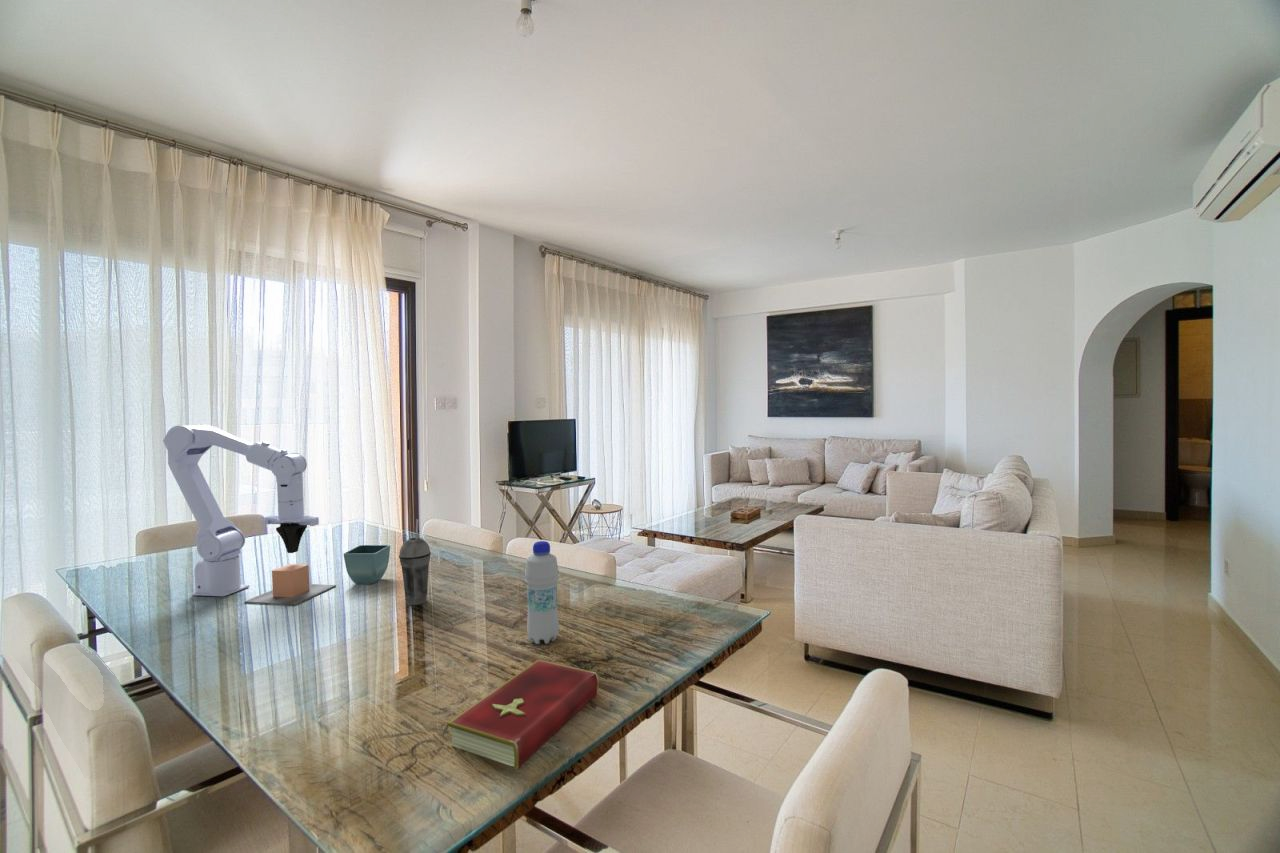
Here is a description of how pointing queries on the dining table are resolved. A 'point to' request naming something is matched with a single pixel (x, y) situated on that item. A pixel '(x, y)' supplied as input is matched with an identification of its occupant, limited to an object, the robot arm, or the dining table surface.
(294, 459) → the robot arm
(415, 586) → the beverage cup
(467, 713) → the hardcover book
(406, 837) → the dining table surface
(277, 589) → the block
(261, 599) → the post block
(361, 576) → the flower pot
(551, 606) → the bottle
